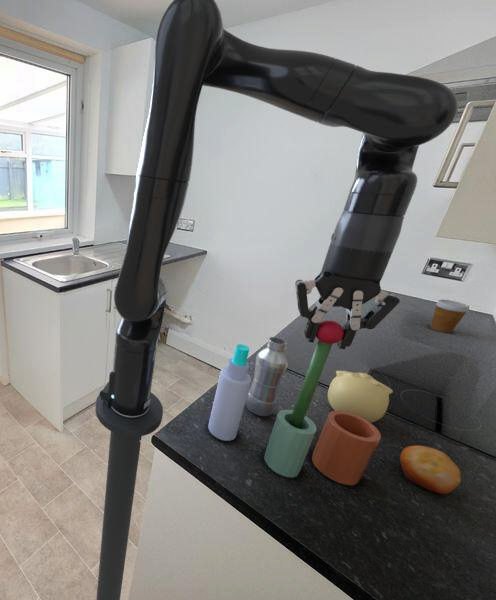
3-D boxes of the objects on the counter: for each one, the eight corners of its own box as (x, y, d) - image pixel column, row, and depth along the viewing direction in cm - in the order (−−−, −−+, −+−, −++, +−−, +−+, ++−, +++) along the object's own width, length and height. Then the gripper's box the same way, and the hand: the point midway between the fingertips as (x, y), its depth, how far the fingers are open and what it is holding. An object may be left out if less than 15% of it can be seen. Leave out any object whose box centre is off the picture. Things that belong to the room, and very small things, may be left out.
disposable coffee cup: (422, 322, 138) (435, 297, 133) (453, 329, 132) (467, 303, 128) (427, 329, 131) (440, 303, 126) (459, 337, 125) (474, 309, 121)
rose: (283, 432, 59) (321, 323, 51) (281, 418, 63) (316, 314, 54) (307, 439, 58) (350, 328, 49) (303, 425, 61) (343, 319, 53)
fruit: (451, 471, 62) (470, 457, 57) (443, 507, 59) (462, 496, 54) (397, 446, 67) (410, 431, 62) (387, 479, 64) (399, 466, 59)
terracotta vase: (315, 475, 61) (334, 432, 57) (308, 445, 68) (324, 405, 64) (365, 492, 58) (388, 447, 54) (352, 459, 65) (371, 418, 61)
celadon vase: (265, 469, 62) (279, 426, 58) (263, 446, 67) (276, 405, 63) (302, 482, 60) (319, 438, 56) (297, 457, 65) (313, 416, 61)
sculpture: (380, 412, 80) (397, 377, 76) (377, 437, 71) (396, 399, 68) (327, 391, 87) (340, 358, 83) (319, 412, 79) (333, 376, 75)
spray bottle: (226, 446, 67) (249, 358, 59) (202, 428, 71) (221, 344, 63) (241, 434, 70) (265, 350, 62) (217, 418, 75) (237, 337, 67)
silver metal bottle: (271, 423, 74) (295, 351, 67) (241, 412, 77) (260, 341, 70) (273, 408, 79) (295, 339, 72) (244, 398, 82) (263, 331, 75)
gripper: (311, 242, 46) (280, 343, 53) (435, 255, 41) (385, 365, 47) (302, 235, 53) (276, 326, 59) (409, 246, 48) (368, 344, 54)
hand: (325, 343), depth 53 cm, fingers closed on rose, 4 cm apart
